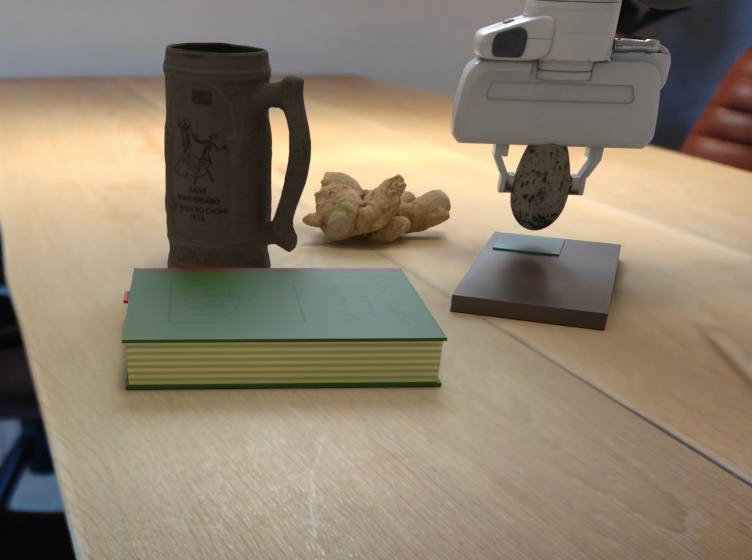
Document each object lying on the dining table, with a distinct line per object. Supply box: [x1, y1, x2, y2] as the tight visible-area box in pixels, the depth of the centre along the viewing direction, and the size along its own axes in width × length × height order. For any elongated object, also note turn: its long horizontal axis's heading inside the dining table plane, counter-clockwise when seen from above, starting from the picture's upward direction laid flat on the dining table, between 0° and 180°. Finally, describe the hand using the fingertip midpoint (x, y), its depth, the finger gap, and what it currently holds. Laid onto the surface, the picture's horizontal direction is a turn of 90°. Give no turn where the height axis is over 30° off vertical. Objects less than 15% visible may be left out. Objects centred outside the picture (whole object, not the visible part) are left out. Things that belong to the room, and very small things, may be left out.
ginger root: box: [301, 171, 452, 244], centre depth 105 cm, size 16×16×8 cm
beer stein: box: [162, 41, 312, 268], centre depth 88 cm, size 15×11×20 cm
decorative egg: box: [509, 143, 571, 231], centre depth 95 cm, size 6×6×10 cm
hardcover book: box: [121, 267, 448, 390], centre depth 76 cm, size 25×19×4 cm
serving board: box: [449, 231, 622, 331], centre depth 93 cm, size 26×14×2 cm, turn 160°
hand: (538, 193), depth 96 cm, fingers closed on decorative egg, 6 cm apart
